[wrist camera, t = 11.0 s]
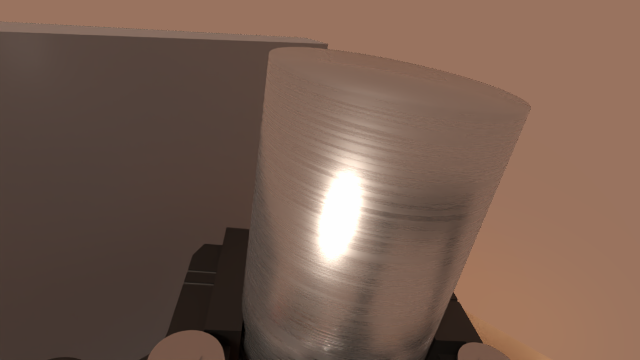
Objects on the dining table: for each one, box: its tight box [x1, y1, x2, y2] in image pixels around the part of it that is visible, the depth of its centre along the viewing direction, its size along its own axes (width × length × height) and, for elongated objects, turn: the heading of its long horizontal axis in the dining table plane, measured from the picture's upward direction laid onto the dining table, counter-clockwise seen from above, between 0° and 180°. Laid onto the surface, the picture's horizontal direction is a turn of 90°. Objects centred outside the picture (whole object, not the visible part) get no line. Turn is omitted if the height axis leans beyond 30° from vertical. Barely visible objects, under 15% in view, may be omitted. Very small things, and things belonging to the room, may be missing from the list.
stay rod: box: [238, 47, 531, 360], centre depth 9 cm, size 4×4×13 cm
